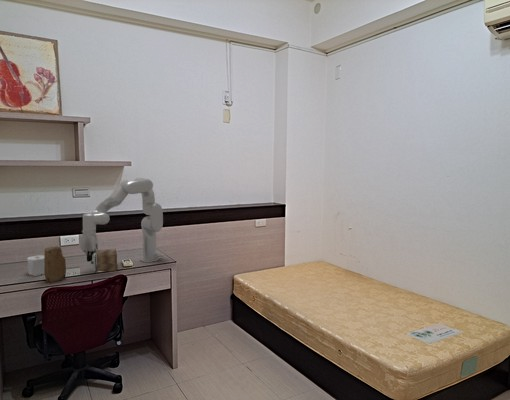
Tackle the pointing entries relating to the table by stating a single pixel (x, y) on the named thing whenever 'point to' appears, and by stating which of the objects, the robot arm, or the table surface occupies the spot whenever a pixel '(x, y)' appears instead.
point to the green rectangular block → (94, 262)
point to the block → (54, 264)
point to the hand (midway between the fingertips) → (89, 260)
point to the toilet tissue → (36, 265)
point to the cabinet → (107, 260)
